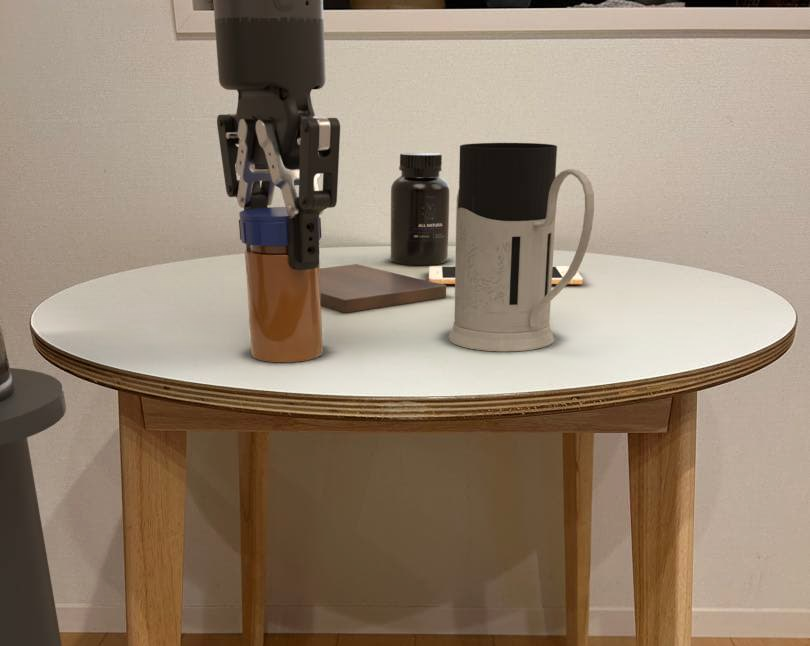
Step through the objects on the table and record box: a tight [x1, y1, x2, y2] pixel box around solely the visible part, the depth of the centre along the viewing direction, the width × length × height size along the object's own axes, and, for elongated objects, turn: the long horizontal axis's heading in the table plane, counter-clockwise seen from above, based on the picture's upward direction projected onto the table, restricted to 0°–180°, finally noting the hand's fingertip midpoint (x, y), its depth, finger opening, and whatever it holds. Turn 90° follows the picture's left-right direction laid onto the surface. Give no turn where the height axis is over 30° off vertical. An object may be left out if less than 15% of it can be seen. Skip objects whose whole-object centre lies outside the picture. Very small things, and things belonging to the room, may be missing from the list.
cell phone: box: [428, 265, 584, 285], centre depth 109 cm, size 8×16×1 cm, turn 89°
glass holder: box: [448, 142, 595, 352], centre depth 79 cm, size 9×14×15 cm, turn 33°
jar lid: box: [238, 206, 322, 246], centre depth 76 cm, size 6×6×2 cm
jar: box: [244, 245, 324, 363], centre depth 78 cm, size 6×6×10 cm
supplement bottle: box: [390, 152, 451, 266], centre depth 117 cm, size 7×7×12 cm
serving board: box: [320, 263, 447, 314], centre depth 102 cm, size 12×16×1 cm
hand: (282, 262), depth 77 cm, fingers closed on jar lid, 6 cm apart
